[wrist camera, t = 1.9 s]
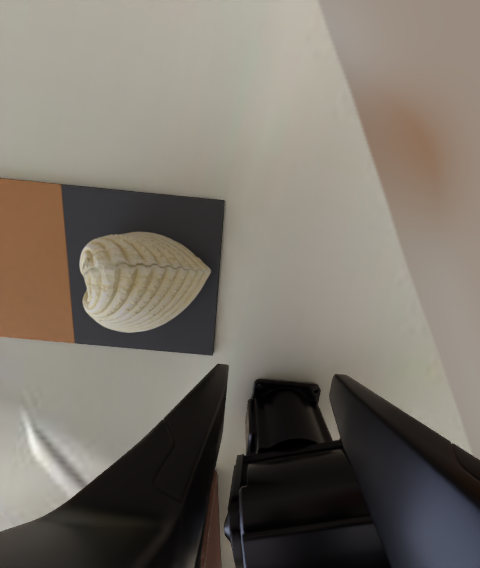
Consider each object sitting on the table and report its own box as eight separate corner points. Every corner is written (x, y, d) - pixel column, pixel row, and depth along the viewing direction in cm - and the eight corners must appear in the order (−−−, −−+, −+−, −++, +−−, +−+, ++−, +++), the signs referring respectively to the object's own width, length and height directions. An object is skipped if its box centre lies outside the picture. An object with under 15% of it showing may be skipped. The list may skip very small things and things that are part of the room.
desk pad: (224, 200, 19) (224, 200, 19) (213, 353, 23) (212, 355, 23) (-49, 173, 19) (-55, 172, 19) (-18, 332, 23) (-23, 334, 22)
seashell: (50, 228, 17) (105, 187, 13) (151, 249, 24) (209, 226, 20) (48, 341, 16) (107, 338, 12) (155, 329, 23) (217, 324, 19)
